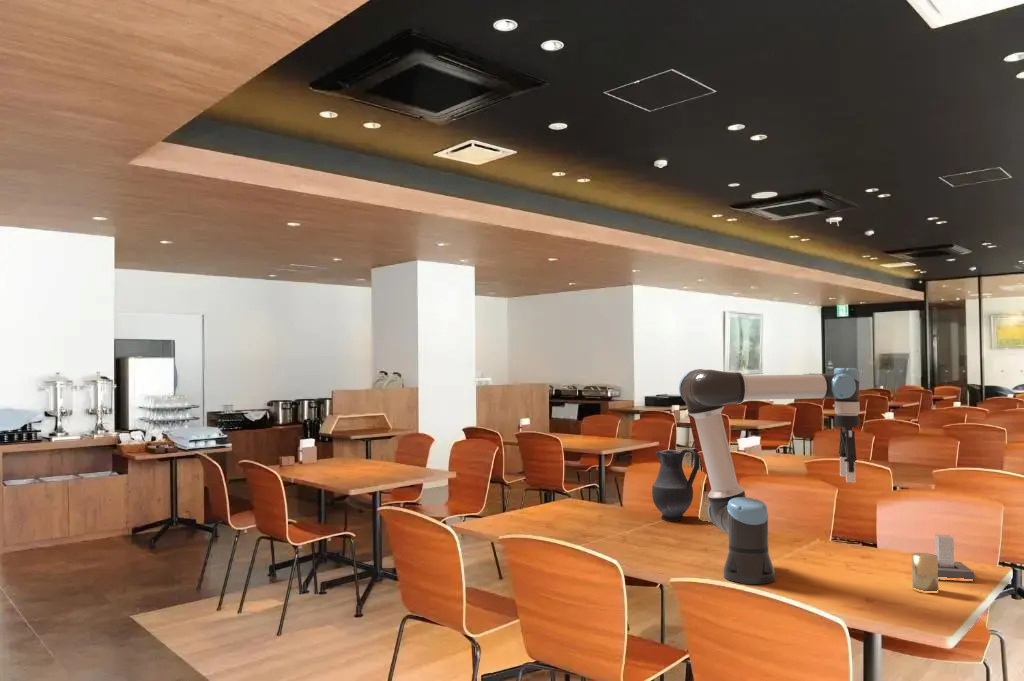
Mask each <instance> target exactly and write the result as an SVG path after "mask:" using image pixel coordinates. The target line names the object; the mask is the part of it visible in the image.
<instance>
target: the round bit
mask: <svg viewBox="0 0 1024 681" xmlns="http://www.w3.org/2000/svg"><path fill="white" fill-rule="evenodd" d="M911 574H912V575H911V576H912V581H911V582H912V589H913V588H916V589H919V590H923V591H937V590H938V589H939V580H938V557H937V556H936V554H934V553H928V552H912V553H911ZM939 590H940V589H939Z"/></svg>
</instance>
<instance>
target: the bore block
mask: <svg viewBox="0 0 1024 681" xmlns="http://www.w3.org/2000/svg"><path fill="white" fill-rule="evenodd" d="M938 577H947V578H964V579H974V580H975V572H974V571H973V570H972V569H971V568H970V567H968V566H966V565H965V564H964V563H963V562H961V561H954V569H952V568H938Z"/></svg>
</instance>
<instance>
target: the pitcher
mask: <svg viewBox="0 0 1024 681" xmlns="http://www.w3.org/2000/svg"><path fill="white" fill-rule="evenodd" d="M686 453H689V454H691V455H693V457H694V464H693V466H692V467H693V468H692V470H691V473H690V475H689V478H687V477H686V475H685V472H684V470H683V468H684V467H683V461H684V457H685V455H686ZM655 455H656V457H657V458H658V461H659V464H660V467H659V471H658V474H657V477H656V480H655V482H653V485H652V488H651V495H652V496H651V497H652V500H653V504H654V506H655V507H656V509H658V511H660V513H661V514H662V515H661V517H660V519H662V521H668V522H669V521H670V522H679V521H678V520H682V521H684V520H685V517H684V514H685V513H686V511H688V509H689V508H690V507H691V505H692V503H693V499H694V489H693V484H694V480H695V479H696V476H697V473H698V471H699V468H700V467H699V466H700V457H699V454H698V453H697V452H696V451H695V450H694V449H691V448H685V449H682V450H681V451H680V450H674V449H666V450H662V451H661V450H659V451H656V452H655ZM683 519H684V520H683Z"/></svg>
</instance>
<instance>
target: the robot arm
mask: <svg viewBox="0 0 1024 681" xmlns="http://www.w3.org/2000/svg"><path fill="white" fill-rule="evenodd" d="M860 382H861V381H860V376H859V369H857V368H855V367H836V368H834V369H833V373H812V372H811V373H803V374H768V375H767V374H766V375H765V374H762V375H760V374H759V375H754V374H753V375H744V374H743V373H742V372H739V371H738V372H729V371H722V370H715V369H703V368H698V369H694V370H690V371H688V372H687V373H685V374H684V375H683V376H682V377H681V379H680V382H679V385H678V393H679V395H680V397H681V399H682V400H683V401H684V402H685V405H686V409H687V414H688V416H691V417H692V418H694V422H695V425H696V430H697V434H698V435H697V436H698V438H699V444H700V448H701V452H702V456H703V460H704V465H705V468H706V472H707V478H708V482H709V485H710V488H711V489H710V491H709V492H708V494H707V497H708V501H709V503H708V507H707V513H708V514H707V515H708V517H709V519H710V521H711V523H712V524H713V525H714V526H715V527H716V529H718V530H720V531H721V532H724V533H726V534H728V553H727V556H726V560H725V563H724V565H723V570H722V571H723V572H722V574H723V578H725V579H726V580H728V581H730V580H731V582H734V581H735V583H738V582H740V583H739V584H745V585H747V584H748V585H766V584H765V583H767V584H770V582H771V583H773V582H775V581H776V570H775V568H774V565H773V563H772V562H773V561H772V559H771V556H770V553H769V551H770V550H769V513H768V506H767V504H766V503H765V502H764V501H762V500H760V499H758V498H753V497H748V496H746V492H745V488H744V487H743V486H741V485H740V484H739V483H738V479H737V475H736V470H735V467H734V463H733V459H732V455H731V454H732V453H731V451H730V450H731V449H730V445H729V441H728V437H727V433H726V429H725V425H724V420H723V417H722V411H723V410H724V408H725V405H731V404H733V405H734V404H743V402H744V401H749V400H750V401H759V400H762V401H763V400H766V401H767V400H801V399H803V400H804V399H834V400H833V401H834V404H832V407H833V408H834V413H835V415H834V426H835V427H838V428H839V449H838V454H839V475H840V477H844V478H845V482H846V483H854V484H855V483H856V482H857V481H856V480H857V478H856V477H857V476H856V471H857V470H856V462H857V460H858V457H857V452H856V451H857V449H856V438H855V435H856V434H855V433H856V432H855V430H853V428H859V427H860V423H861V422H860V415H859V414H860V413H861V412H860V411H861V409H860V407H861V406H860ZM774 580H775V581H774Z"/></svg>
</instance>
